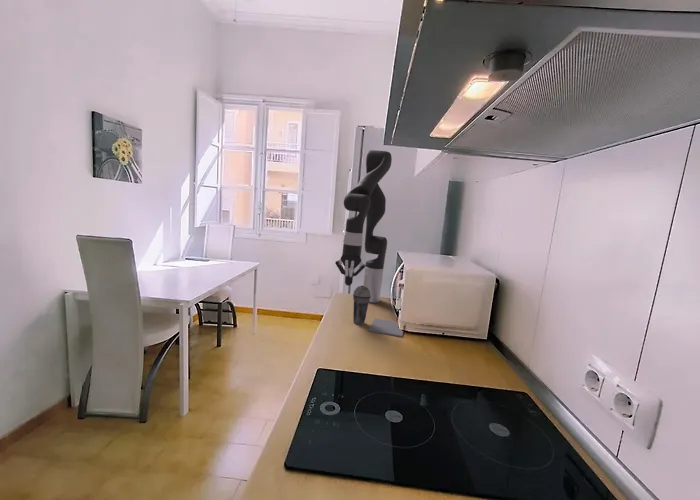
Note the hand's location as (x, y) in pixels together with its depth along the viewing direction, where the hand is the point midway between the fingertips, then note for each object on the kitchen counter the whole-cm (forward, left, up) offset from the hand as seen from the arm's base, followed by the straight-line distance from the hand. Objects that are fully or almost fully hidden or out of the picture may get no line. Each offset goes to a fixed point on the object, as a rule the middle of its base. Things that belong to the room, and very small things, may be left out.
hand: (348, 285), depth 151 cm
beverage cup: (0, +6, -15) cm, 16 cm away
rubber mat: (0, +18, -15) cm, 24 cm away
